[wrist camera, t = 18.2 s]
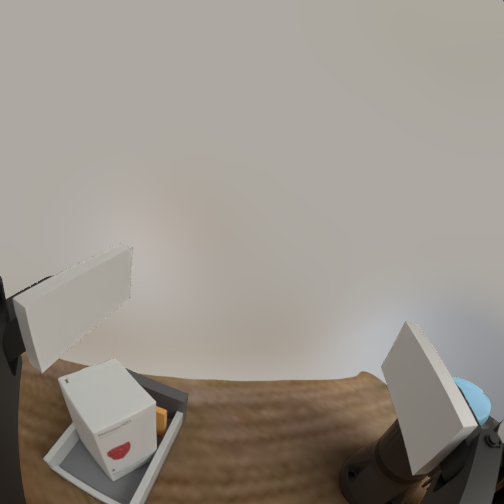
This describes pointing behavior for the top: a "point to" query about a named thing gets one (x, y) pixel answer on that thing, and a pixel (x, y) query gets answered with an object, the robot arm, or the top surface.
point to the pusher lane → (136, 482)
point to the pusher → (161, 421)
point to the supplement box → (112, 416)
